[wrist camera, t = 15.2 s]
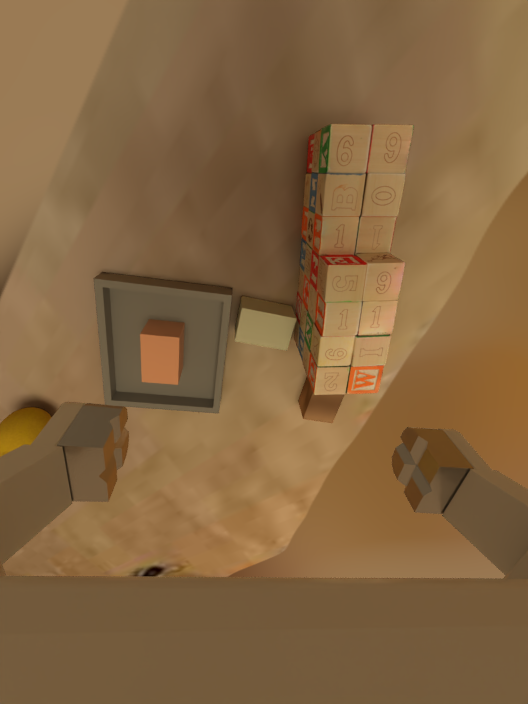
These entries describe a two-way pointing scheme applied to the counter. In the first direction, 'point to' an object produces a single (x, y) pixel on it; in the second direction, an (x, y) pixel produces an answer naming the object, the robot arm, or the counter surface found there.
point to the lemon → (21, 428)
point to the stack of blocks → (350, 255)
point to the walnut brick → (318, 404)
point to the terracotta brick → (162, 351)
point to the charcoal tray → (168, 305)
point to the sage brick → (264, 323)
